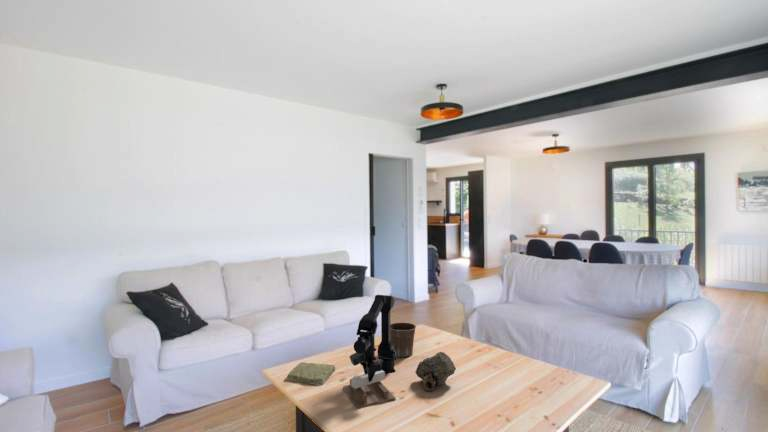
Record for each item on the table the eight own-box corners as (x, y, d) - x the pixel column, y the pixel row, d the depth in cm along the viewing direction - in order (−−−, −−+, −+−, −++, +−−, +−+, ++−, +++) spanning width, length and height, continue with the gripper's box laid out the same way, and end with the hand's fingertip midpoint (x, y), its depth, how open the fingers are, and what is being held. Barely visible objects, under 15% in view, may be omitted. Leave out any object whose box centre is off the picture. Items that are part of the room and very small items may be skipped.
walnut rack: (378, 381, 189) (378, 373, 189) (395, 399, 171) (395, 391, 171) (343, 388, 183) (343, 379, 182) (356, 408, 164) (356, 399, 164)
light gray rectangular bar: (380, 376, 183) (380, 369, 182) (384, 379, 180) (384, 371, 180) (351, 386, 173) (351, 378, 173) (355, 388, 171) (355, 380, 171)
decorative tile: (300, 367, 208) (300, 360, 208) (335, 370, 204) (335, 363, 204) (284, 383, 190) (284, 375, 190) (323, 386, 186) (322, 379, 185)
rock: (441, 343, 193) (436, 348, 179) (460, 368, 189) (457, 375, 174) (413, 366, 195) (406, 373, 181) (432, 391, 191) (426, 400, 176)
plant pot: (390, 348, 235) (389, 321, 234) (416, 349, 232) (416, 322, 232) (386, 358, 218) (386, 330, 218) (415, 359, 216) (415, 331, 216)
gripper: (345, 341, 182) (345, 374, 182) (358, 355, 165) (358, 391, 165) (367, 338, 186) (367, 370, 187) (382, 351, 169) (382, 387, 169)
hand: (368, 379), depth 177 cm, fingers closed on light gray rectangular bar, 4 cm apart
